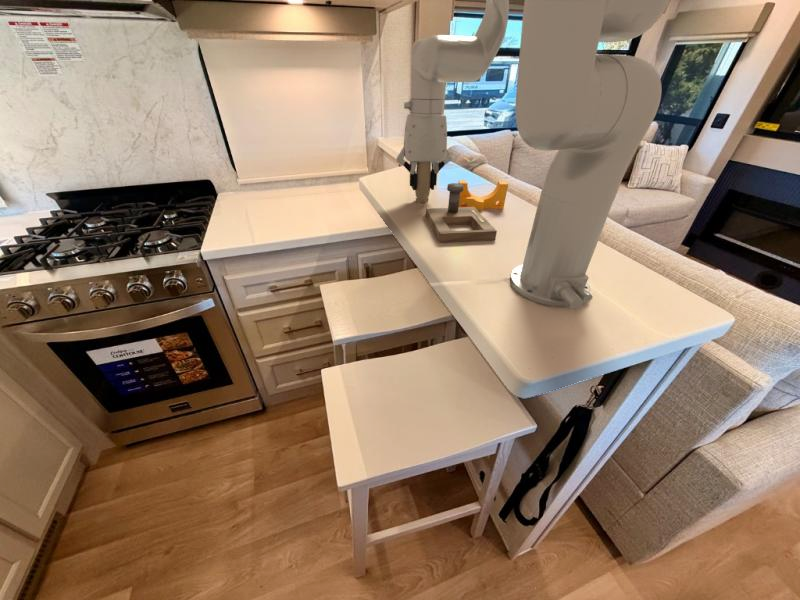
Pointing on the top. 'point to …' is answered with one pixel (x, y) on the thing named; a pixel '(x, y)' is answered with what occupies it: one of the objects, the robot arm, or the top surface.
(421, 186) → the handle
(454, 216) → the plate
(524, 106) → the robot arm
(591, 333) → the top surface
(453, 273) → the top surface
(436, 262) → the top surface
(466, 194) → the pipe clamp
